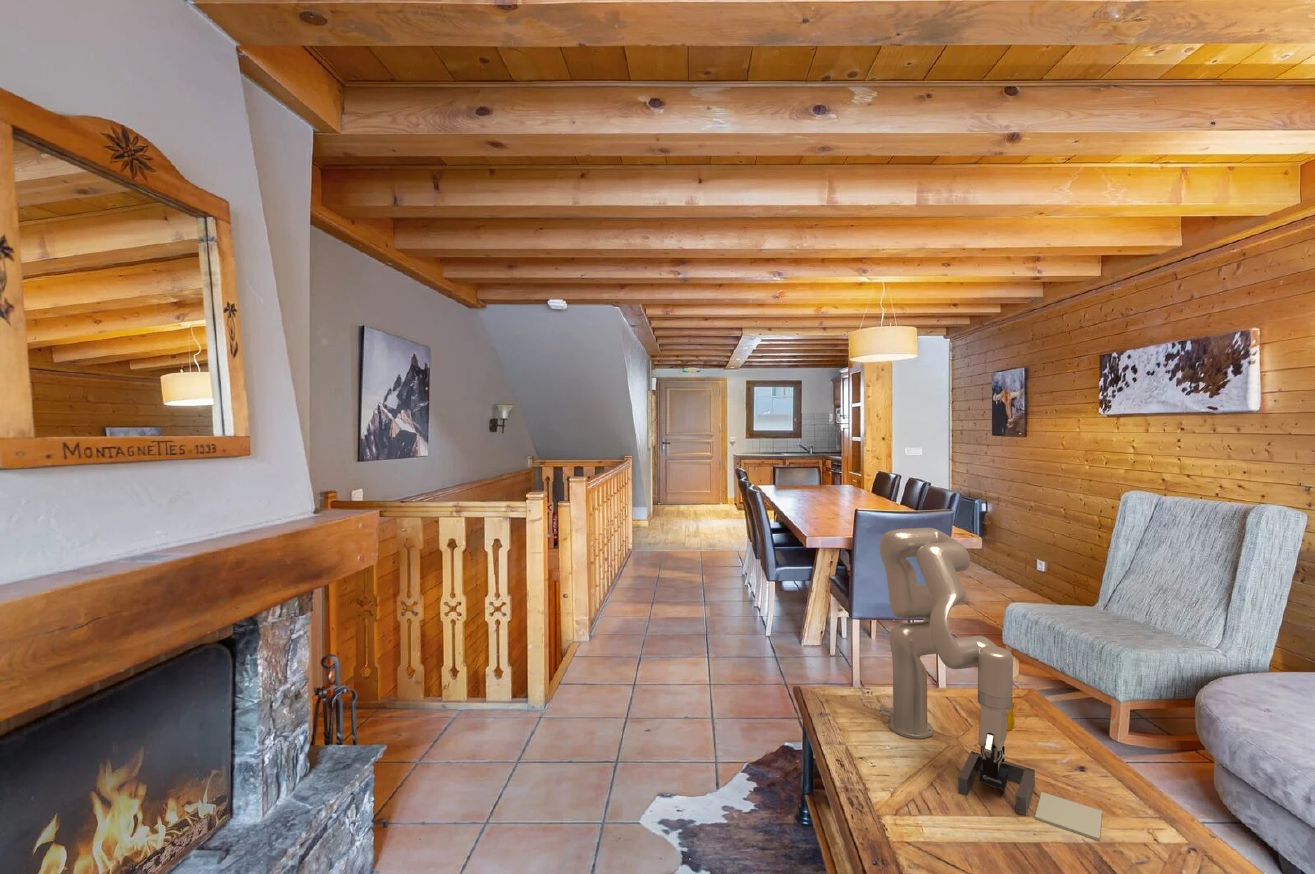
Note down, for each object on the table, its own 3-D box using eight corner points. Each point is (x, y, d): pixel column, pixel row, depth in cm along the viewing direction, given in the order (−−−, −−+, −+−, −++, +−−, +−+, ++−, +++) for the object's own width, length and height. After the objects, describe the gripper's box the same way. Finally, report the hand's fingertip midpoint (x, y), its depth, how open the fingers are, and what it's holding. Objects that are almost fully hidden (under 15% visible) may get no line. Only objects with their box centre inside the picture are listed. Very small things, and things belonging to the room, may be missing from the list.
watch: (977, 785, 148) (978, 741, 147) (984, 770, 154) (984, 728, 154) (1003, 794, 144) (1004, 749, 144) (1009, 778, 151) (1009, 735, 150)
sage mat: (1035, 818, 138) (1035, 816, 138) (1041, 794, 148) (1041, 791, 148) (1099, 840, 131) (1099, 838, 131) (1102, 813, 140) (1102, 810, 140)
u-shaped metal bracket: (958, 792, 148) (958, 776, 148) (971, 765, 160) (971, 750, 160) (1025, 815, 139) (1025, 798, 139) (1034, 785, 151) (1034, 769, 151)
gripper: (984, 682, 158) (983, 747, 158) (970, 707, 144) (969, 778, 145) (1017, 690, 153) (1016, 757, 154) (1006, 716, 139) (1005, 790, 140)
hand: (993, 767), depth 149 cm, fingers closed on watch, 8 cm apart
